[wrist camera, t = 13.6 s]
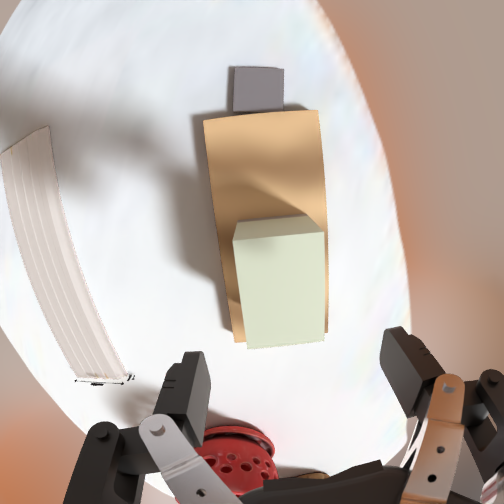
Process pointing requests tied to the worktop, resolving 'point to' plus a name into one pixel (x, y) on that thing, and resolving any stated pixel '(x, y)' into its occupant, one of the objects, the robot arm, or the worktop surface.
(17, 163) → the baseboard
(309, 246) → the block
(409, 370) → the robot arm
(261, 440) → the plant pot
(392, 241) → the worktop surface
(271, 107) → the gray square tile
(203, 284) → the worktop surface
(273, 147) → the oak board
